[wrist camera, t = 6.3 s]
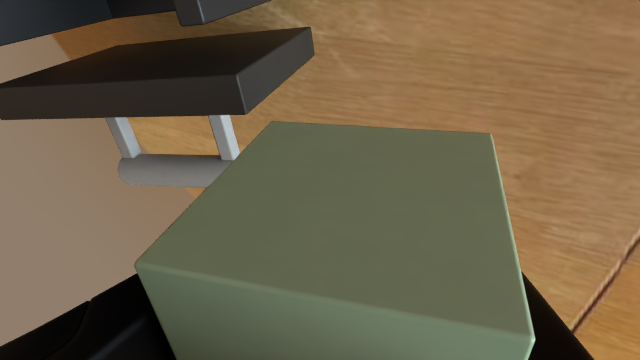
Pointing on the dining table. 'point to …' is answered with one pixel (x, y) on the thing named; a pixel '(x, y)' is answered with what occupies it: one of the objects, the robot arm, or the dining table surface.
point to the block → (345, 252)
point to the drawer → (152, 78)
